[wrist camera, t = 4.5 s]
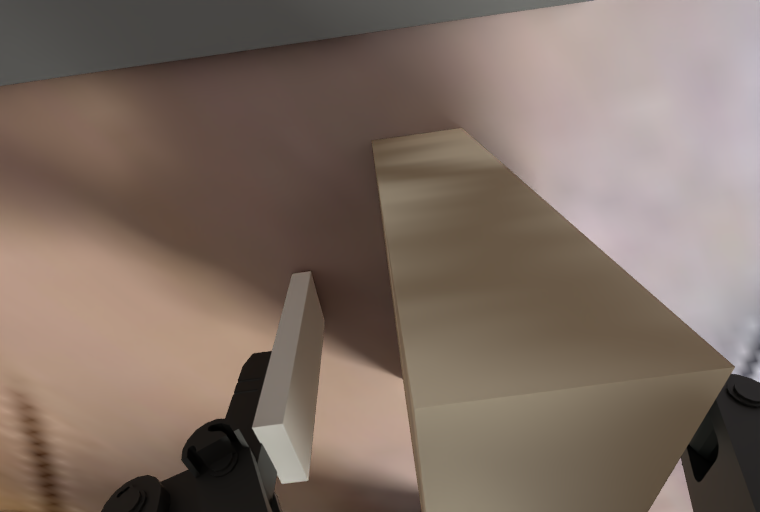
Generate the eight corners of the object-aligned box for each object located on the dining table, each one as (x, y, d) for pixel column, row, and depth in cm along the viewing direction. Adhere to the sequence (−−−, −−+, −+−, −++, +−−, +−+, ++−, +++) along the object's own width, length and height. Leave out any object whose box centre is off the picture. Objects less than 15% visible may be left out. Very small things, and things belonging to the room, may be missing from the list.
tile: (402, 378, 18) (445, 678, 10) (371, 140, 12) (414, 408, 3) (462, 370, 18) (556, 665, 10) (462, 127, 12) (740, 366, 3)
